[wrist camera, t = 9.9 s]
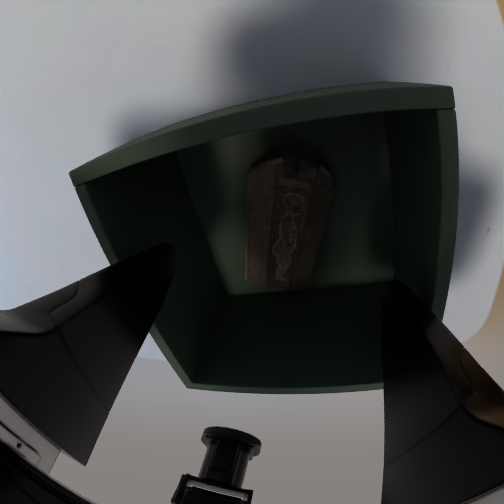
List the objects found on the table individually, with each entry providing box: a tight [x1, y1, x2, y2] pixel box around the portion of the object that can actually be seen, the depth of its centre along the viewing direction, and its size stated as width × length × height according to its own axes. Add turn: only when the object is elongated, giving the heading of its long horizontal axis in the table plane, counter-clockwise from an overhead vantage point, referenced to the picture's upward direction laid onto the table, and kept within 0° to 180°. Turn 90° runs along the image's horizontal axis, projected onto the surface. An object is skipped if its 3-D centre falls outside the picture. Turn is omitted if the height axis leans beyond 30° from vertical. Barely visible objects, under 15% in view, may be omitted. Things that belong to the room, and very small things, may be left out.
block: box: [245, 151, 337, 289], centre depth 13 cm, size 4×6×2 cm, turn 178°
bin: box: [69, 82, 459, 394], centre depth 11 cm, size 10×10×7 cm
